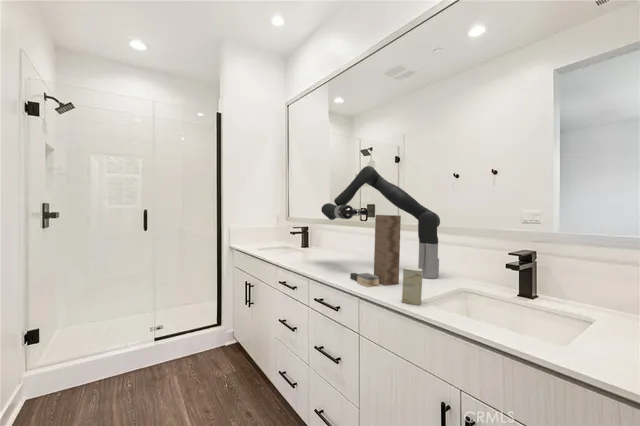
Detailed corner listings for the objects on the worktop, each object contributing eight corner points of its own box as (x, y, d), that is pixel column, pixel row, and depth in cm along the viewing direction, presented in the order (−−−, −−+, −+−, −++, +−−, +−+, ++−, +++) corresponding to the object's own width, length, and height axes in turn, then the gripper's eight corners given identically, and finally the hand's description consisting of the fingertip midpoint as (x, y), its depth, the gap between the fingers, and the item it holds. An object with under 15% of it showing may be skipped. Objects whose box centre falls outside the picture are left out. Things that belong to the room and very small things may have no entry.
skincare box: (401, 302, 104) (402, 268, 104) (404, 299, 108) (405, 266, 108) (420, 305, 101) (421, 270, 101) (422, 302, 105) (423, 268, 105)
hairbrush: (358, 277, 142) (358, 269, 142) (378, 286, 127) (379, 276, 127) (347, 278, 139) (347, 270, 139) (367, 287, 124) (367, 277, 124)
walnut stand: (387, 280, 139) (389, 215, 138) (398, 284, 131) (400, 215, 131) (373, 281, 135) (375, 214, 135) (384, 285, 128) (386, 215, 128)
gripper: (332, 204, 156) (348, 204, 141) (354, 205, 162) (372, 205, 148) (332, 218, 156) (347, 219, 141) (354, 219, 162) (371, 220, 148)
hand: (360, 212), depth 145 cm, fingers open, 8 cm apart
